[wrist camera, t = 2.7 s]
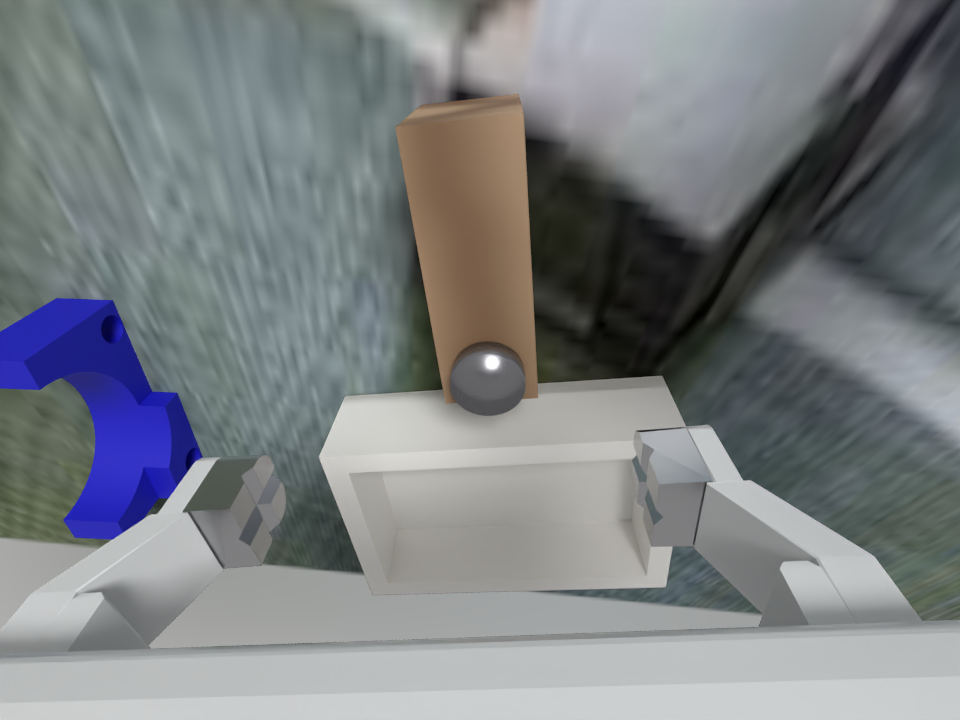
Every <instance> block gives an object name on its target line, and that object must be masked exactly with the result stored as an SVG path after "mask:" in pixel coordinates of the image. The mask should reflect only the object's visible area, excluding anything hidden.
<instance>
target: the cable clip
mask: <svg viewBox="0 0 960 720" xmlns="http://www.w3.org/2000/svg"><path fill="white" fill-rule="evenodd" d="M59 378H63V379H65V380H66V381H67V382H69V383H70V384H71V385H73V386H74V387H75V388H76V389H77V390H78V392H79V393H80V394H81V395H82V397H83V398H84V400H85V401H86V403H87V405H88V407H89V410H90V412H91V415H92V418H93V422H94V428H95V455H94V461H93V465H92V469H91V473H90V475H89V478H88V481H87V483H86V486H85V488H84V490H83V492H82V494H81V496H80V498H79V499H78V501H77V502H76V504H75V506H74V507H73V508H72V510H71V511H70V513H69V514H68V515H67V516H66V517H65V518H64V522H65V523H66V525H67V526H68V528H69V529H70V531H71V532H72V534H73V535H74V537H75V538H96V539H114V538H116V537H117V536H119V535H120V534H122V533H123V532H125V531H127V530H128V529H130V528H131V527H133V526H134V525H136V524H137V523H139V522H140V521H142V520H143V519H144V517H145V516H146V515H147V513H148V512H149V511H150V509H151V508H152V507H153V505H154V504H155V502H156V501H157V500H158V498H169V497H170V496H171V494H172V493H173V492H174V490H175V489H176V487H177V486H178V485H179V483H180V482H181V481H182V479H183V478H184V476H185V475H186V474H187V472H188V471H189V469H190V468H191V467H192V465H193V464H194V462H195V461H197V460H199V459H201V458H203V457H202V454H201V452H200V449H199V447H198V444H197V442H196V439H195V437H194V434H193V431H192V429H191V426H190V424H189V421H188V419H187V416H186V414H185V411H184V409H183V406H182V404H181V401H180V399H179V396H178V394H177V393H169V392H152V390H151V388H150V386H149V383H148V381H147V379H146V376H145V374H144V372H143V369H142V367H141V365H140V362H139V360H138V358H137V355H136V353H135V351H134V348H133V346H132V344H131V341H130V339H129V337H128V334H127V332H126V330H125V328H124V325H123V323H122V321H121V318H120V316H119V314H118V311H117V309H116V307H115V304H114V302H113V300H88V299H61V298H56V299H55V300H53V301H51V302H50V303H48V304H46V305H44V306H43V307H41V308H39V309H38V310H36V311H34V312H33V313H31V314H29V315H28V316H26V317H24V318H23V319H21V320H19V321H18V322H16V323H14V324H12V325H11V326H9V327H7V328H6V329H4V330H2V331H1V332H0V388H8V389H32V390H40V389H42V388H43V387H45V386H46V385H48V384H49V383H51V382H53V381H55V380H57V379H59Z"/></svg>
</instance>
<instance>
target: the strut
mask: <svg viewBox="0 0 960 720" xmlns="http://www.w3.org/2000/svg"><path fill="white" fill-rule="evenodd" d="M395 128H396V133H397V139H398V144H399V150H400V155H401V161H402V166H403V172H404V177H405V183H406V189H407V194H408V200H409V205H410V211H411V216H412V222H413V227H414V233H415V238H416V244H417V249H418V255H419V260H420V266H421V271H422V277H423V282H424V288H425V293H426V299H427V304H428V310H429V315H430V321H431V326H432V332H433V337H434V343H435V348H436V354H437V359H438V365H439V370H440V376H441V381H442V387H443V392H444V398H445V403H446V404H449V403H458V404H459V405H460V406H461V407H462V408H464V409H465V410H467V411H469V412H471V413H474V414H477V415H482V416H495V415H500V414H503V413H506V412H508V411H510V410H512V409H513V408H514V407H516V406H517V405H518V404H519V402H520V401H521V400H522V399H532V398H538V383H537V363H536V344H535V325H534V305H533V286H532V267H531V247H530V228H529V209H528V189H527V170H526V151H525V131H524V113H523V109H522V105H521V102H520V98H519V94H513V95H505V96H496V97H487V98H479V99H470V100H461V101H453V102H444V103H435V104H426V105H421V106H420V107H418V108H417V109H416V110H415V111H414V112H413V113H411V114H410V115H409V116H408V117H407V118H406V119H404V120H403V121H402V122H401V123H400V124H399V125H397V126H396V127H395Z"/></svg>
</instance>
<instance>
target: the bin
mask: <svg viewBox="0 0 960 720" xmlns="http://www.w3.org/2000/svg"><path fill="white" fill-rule="evenodd" d="M685 426H686V425H685V423H684V421H683V419H682V417H681V415H680V413H679V410H678V408H677V406H676V404H675V402H674V400H673V398H672V396H671V393H670V391H669V389H668V387H667V385H666V383H665V381H664V379H663V376H649V377H633V378H618V379H602V380H586V381H571V382H555V383H540V384H538V398H532V399H522V400H521V401H520V402H519V404H518V405H517V406H516V407H514V408H513V409H512V410H510V411H508V412H506V413H503V414H500V415H495V416H482V415H477V414H474V413H471V412H469V411H467V410H465V409H464V408H462V407H461V406H460V405H459V404H458V403H449V404H446V403H445V398H444V392H443V390H431V391H415V392H399V393H384V394H368V395H353V396H345V398H344V400H343V402H342V405H341V407H340V409H339V412H338V414H337V416H336V419H335V421H334V423H333V426H332V428H331V430H330V433H329V435H328V437H327V439H326V442H325V444H324V446H323V449H322V451H321V453H320V456H319V459H320V461H321V464H322V467H323V469H324V472H325V474H326V477H327V479H328V482H329V485H330V487H331V490H332V492H333V495H334V497H335V500H336V503H337V505H338V508H339V510H340V513H341V515H342V518H343V520H344V523H345V526H346V528H347V531H348V533H349V536H350V538H351V541H352V544H353V546H354V549H355V551H356V554H357V556H358V559H359V562H360V564H361V567H362V569H363V572H364V574H365V577H366V579H367V582H368V585H369V587H370V590H371V592H372V595H399V594H400V595H401V594H436V593H473V592H509V591H545V590H582V589H618V588H654V587H666V583H667V577H668V571H669V565H670V559H671V553H672V548H673V546H672V547H651V544H650V541H649V538H648V535H647V532H646V529H645V526H644V523H643V511H644V508H643V507H641V506H640V505H639V504H638V503H637V501H636V497H635V494H634V489H633V485H632V473H631V469H632V459H633V458H634V457H635V456H636V455H637V454H636V451H635V449H634V446H633V441H634V434H635V431H636V430H649V429H663V428H677V427H685Z"/></svg>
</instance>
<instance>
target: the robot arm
mask: <svg viewBox="0 0 960 720" xmlns="http://www.w3.org/2000/svg"><path fill="white" fill-rule="evenodd" d="M633 446H634V449H635V451H636V454H637V455H636V456H635V457H634V458H633V459H632V469H631V473H632V485H633V489H634V494H635V497H636V501H637V503H638V504H639V505H640V506H641V507H643V508H644V511H643V523H644V526H645V529H646V532H647V535H648V538H649V541H650V544H651V547H672V546H694V549H695V550H696V551H697V552H699V553H700V554H701V555H702V556H703V557H704V558H705V559H706V560H707V561H708V562H709V563H710V564H711V565H712V566H713V567H714V568H715V569H716V570H717V571H718V572H719V573H720V574H722V575H723V576H724V577H725V578H726V579H727V580H728V581H729V582H730V583H731V584H732V585H733V586H734V587H735V588H736V589H737V590H738V591H739V592H740V593H741V594H742V595H743V596H744V597H746V598H747V599H748V600H749V601H750V602H751V603H752V604H753V605H754V606H755V607H756V608H757V609H758V610H759V611H760V612H761V613H762V614H763V616H762V619H761V622H760V624H759V627H746V628H718V629H690V630H663V631H634V632H605V633H579V634H578V633H577V634H551V635H526V636H525V635H524V636H499V637H471V638H445V639H444V638H443V639H413V640H386V641H355V642H326V643H299V644H270V645H243V646H214V647H189V648H188V647H187V648H159V649H158V648H157V649H151V648H150V647H149V646H148V645H149V644H150V643H151V642H152V641H153V640H154V639H155V638H156V637H157V636H158V635H159V634H160V633H161V632H162V631H163V630H164V629H165V628H166V627H167V626H168V625H169V624H170V623H171V622H172V621H173V620H174V619H175V618H176V617H177V616H178V615H179V614H181V613H182V611H183V610H184V609H185V608H186V607H188V605H190V604H191V603H192V602H193V601H194V600H195V599H196V598H197V597H198V596H199V594H201V593H202V592H203V591H204V590H205V589H206V588H207V587H208V586H209V585H210V584H211V583H212V582H213V581H214V580H215V579H216V578H217V577H218V576H219V575H220V574H221V572H223V569H224V568H238V567H251V566H261V565H262V563H263V560H264V558H265V556H266V554H267V551H268V549H269V547H270V545H271V543H272V540H273V539H272V536H271V533H270V531H271V530H272V529H273V528H275V527H276V526H277V525H278V524H279V523H280V522H281V520H282V517H283V515H284V513H285V506H286V494H285V489H284V486H283V484H282V482H281V481H280V480H279V479H277V478H276V477H274V476H273V475H272V473H273V471H274V468H275V466H274V464H273V462H272V460H271V458H270V457H269V456H266V455H250V456H225V457H212V458H201V459H199V460H197V461H195V462H194V464H193V465H192V467H191V468H190V469H189V471H188V472H187V474H186V475H185V476H184V478H183V479H182V481H181V482H180V483H179V485H178V486H177V487H176V489H175V490H174V492H173V493H172V494H171V496H170V497H169V499H168V500H167V501H166V503H165V504H164V506H163V507H162V508H161V510H160V511H159V512H158V514H152V515H149V516H148V517H146V518H145V519H143V520H142V521H140V522H139V523H137V524H136V525H134V526H133V527H131V528H130V529H128V530H127V531H125V532H123V533H122V534H120V535H119V536H117V537H116V538H114V539H113V540H111V541H110V542H108V543H107V544H105V545H104V546H102V547H101V548H99V549H98V550H96V551H95V552H93V553H92V554H90V555H89V556H87V557H86V558H84V559H83V560H81V561H80V562H78V563H77V564H75V565H74V566H72V567H71V568H69V569H68V570H66V571H65V572H63V573H62V574H60V575H59V576H57V577H56V578H54V579H53V580H51V581H50V582H48V583H47V584H45V585H44V586H42V587H41V588H39V589H38V590H36V591H35V592H33V593H32V594H31V595H30V596H29V597H28V598H27V599H26V601H25V602H24V603H23V604H22V605H21V606H20V608H19V609H18V610H17V611H16V613H15V614H14V615H13V616H12V617H11V618H10V620H9V621H8V622H7V623H6V624H5V626H4V627H3V628H2V629H1V630H0V720H960V620H943V621H922V620H921V619H920V617H919V616H918V615H917V613H916V612H915V611H914V609H913V608H912V607H911V605H910V604H909V602H908V601H907V600H906V598H905V597H904V596H903V594H902V593H901V592H900V590H899V589H898V588H897V586H896V585H895V584H894V582H893V581H892V580H891V578H890V577H889V576H888V574H887V573H886V572H885V570H884V569H883V567H882V566H881V565H880V563H879V562H878V561H877V559H876V558H875V557H874V556H873V555H871V554H870V553H868V552H866V551H865V550H863V549H862V548H860V547H858V546H857V545H855V544H853V543H852V542H850V541H849V540H847V539H845V538H844V537H842V536H840V535H839V534H837V533H836V532H834V531H832V530H831V529H829V528H827V527H826V526H824V525H823V524H821V523H819V522H818V521H816V520H814V519H813V518H811V517H810V516H808V515H806V514H805V513H803V512H801V511H800V510H798V509H797V508H795V507H793V506H792V505H790V504H788V503H787V502H785V501H784V500H782V499H780V498H779V497H777V496H775V495H774V494H772V493H771V492H769V491H767V490H766V489H764V488H762V487H761V486H759V485H758V484H756V483H754V482H753V481H751V480H746V481H743V479H742V478H741V476H740V474H739V473H738V471H737V469H736V467H735V466H734V464H733V462H732V461H731V459H730V457H729V455H728V454H727V452H726V450H725V449H724V447H723V445H722V443H721V442H720V440H719V438H718V437H717V435H716V433H715V431H714V430H713V428H712V427H711V426H709V425H697V426H685V427H677V428H663V429H649V430H636V431H635V434H634V441H633Z"/></svg>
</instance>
